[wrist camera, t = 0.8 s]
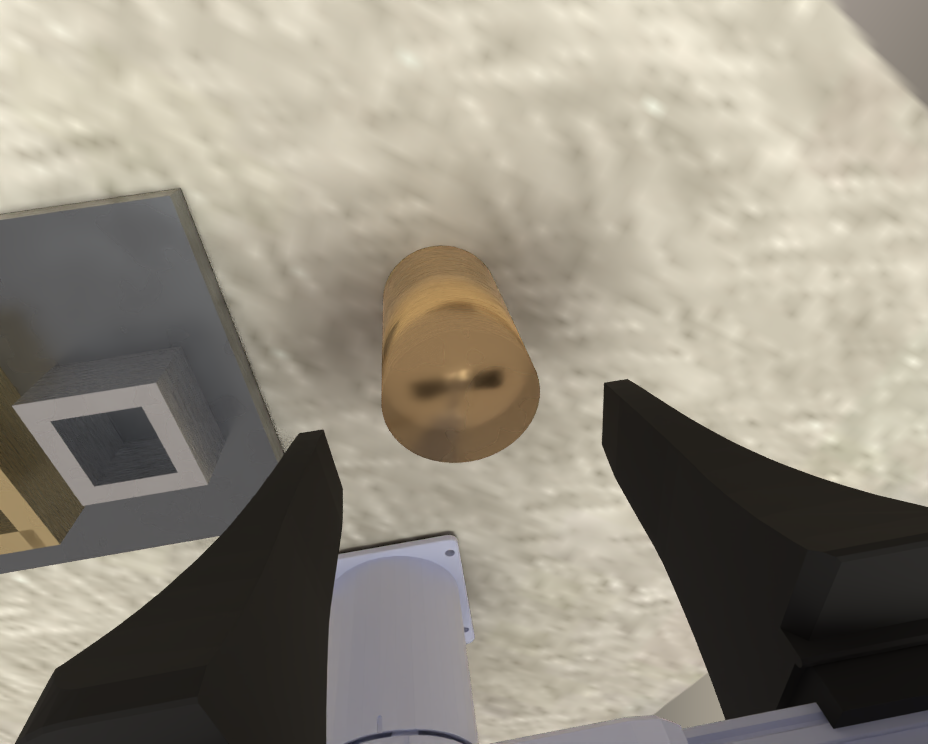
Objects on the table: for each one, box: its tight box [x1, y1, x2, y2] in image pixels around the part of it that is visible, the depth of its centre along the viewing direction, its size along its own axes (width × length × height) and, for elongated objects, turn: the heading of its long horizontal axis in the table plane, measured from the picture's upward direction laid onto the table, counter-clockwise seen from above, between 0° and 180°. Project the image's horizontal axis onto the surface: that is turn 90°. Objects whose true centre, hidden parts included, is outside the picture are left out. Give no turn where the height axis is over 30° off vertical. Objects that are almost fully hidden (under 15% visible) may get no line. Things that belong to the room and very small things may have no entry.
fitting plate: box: [0, 189, 284, 574], centre depth 20 cm, size 15×17×4 cm
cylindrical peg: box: [382, 246, 540, 463], centre depth 18 cm, size 4×4×7 cm
